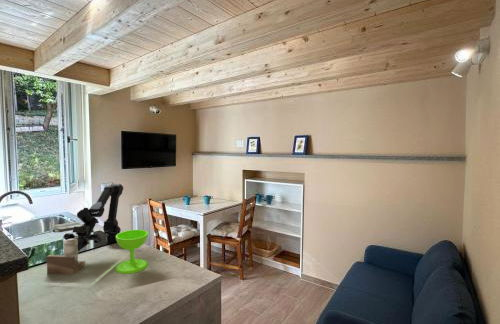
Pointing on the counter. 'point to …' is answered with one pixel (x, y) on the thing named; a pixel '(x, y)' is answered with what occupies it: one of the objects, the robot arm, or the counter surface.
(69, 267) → the roll holder
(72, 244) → the roll carriage
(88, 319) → the counter surface
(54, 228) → the dish towel
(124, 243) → the wineglass
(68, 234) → the robot arm
